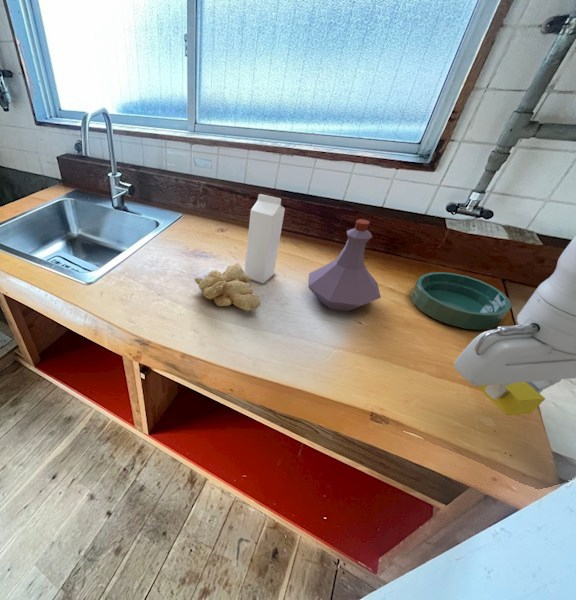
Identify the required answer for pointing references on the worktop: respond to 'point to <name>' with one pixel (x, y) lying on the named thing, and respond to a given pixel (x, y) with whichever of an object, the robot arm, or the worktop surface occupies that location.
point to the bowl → (460, 300)
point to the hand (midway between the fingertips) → (509, 393)
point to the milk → (263, 238)
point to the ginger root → (229, 288)
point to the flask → (346, 274)
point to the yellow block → (517, 399)
